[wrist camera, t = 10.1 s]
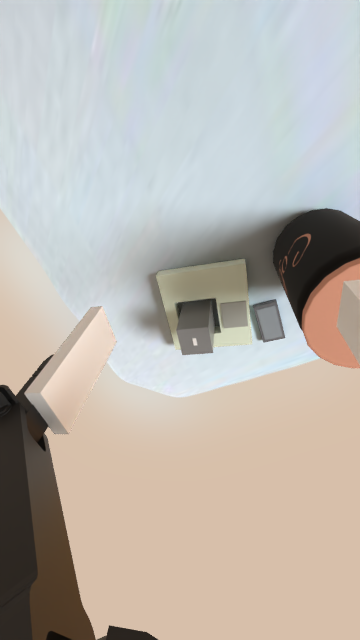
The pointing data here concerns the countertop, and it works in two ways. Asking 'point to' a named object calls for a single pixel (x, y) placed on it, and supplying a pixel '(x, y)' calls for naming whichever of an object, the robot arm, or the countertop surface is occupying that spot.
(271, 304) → the phone
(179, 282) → the outlet plate
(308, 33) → the countertop surface
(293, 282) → the coffee jar
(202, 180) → the countertop surface
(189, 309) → the block
